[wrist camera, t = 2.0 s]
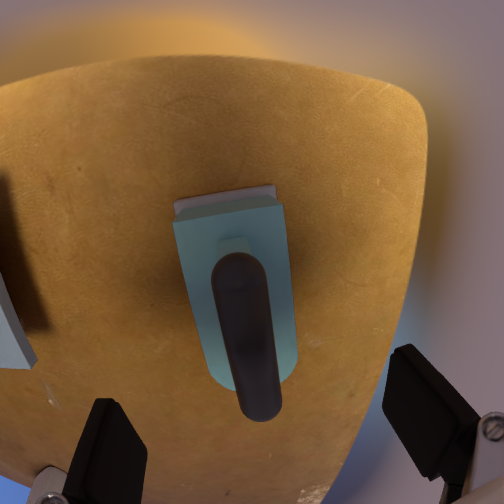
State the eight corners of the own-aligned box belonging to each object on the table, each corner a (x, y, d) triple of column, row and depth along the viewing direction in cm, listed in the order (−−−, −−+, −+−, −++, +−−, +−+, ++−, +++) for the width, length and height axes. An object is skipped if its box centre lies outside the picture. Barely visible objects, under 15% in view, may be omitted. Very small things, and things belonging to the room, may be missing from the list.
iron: (175, 200, 18) (135, 240, 9) (272, 184, 18) (323, 208, 9) (211, 356, 21) (212, 457, 13) (290, 342, 22) (327, 436, 13)
